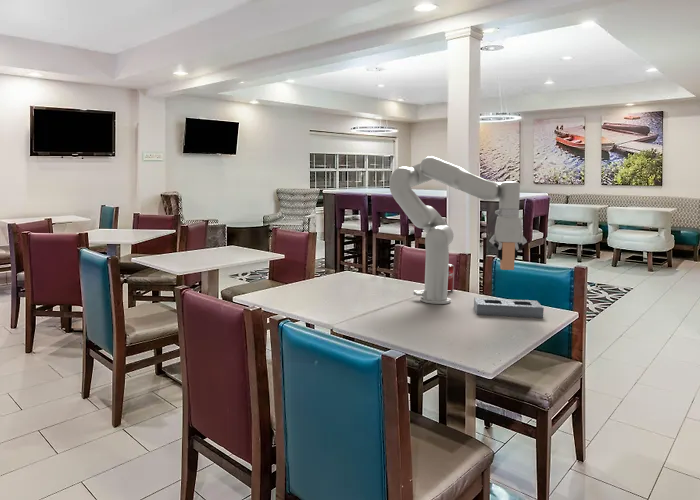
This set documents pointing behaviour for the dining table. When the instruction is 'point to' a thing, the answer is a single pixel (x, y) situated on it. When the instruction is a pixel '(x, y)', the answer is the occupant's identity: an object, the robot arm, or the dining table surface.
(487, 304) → the gray peg hole board
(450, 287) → the soda can
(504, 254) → the square peg
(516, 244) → the robot arm
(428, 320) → the dining table surface
